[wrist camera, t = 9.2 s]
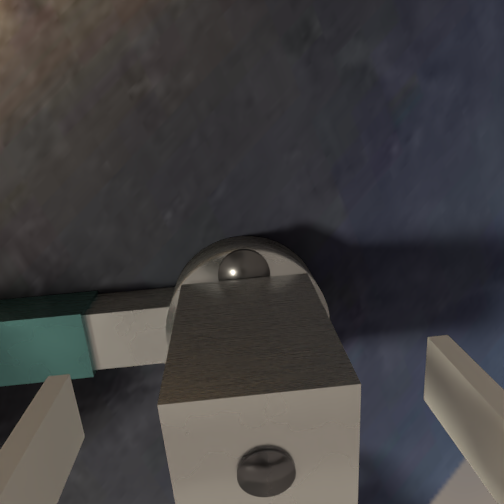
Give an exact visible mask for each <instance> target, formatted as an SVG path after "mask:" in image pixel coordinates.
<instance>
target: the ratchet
mask: <svg viewBox="0 0 504 504" xmlns="http://www.w3.org/2000/svg"><path fill="white" fill-rule="evenodd" d="M302 273H308V275H309V277H310V279H311V282H312V284H313V286H314V288H315V290H316V292H317V294H318V296H319V298H320V300H321V302H322V304H323V306H324V308H325V311H326V313H327V315H328V317H329V319H330V315H329V310H328V306H327V303H326V300H325V298H324V295H323V294H322V292H321V290H320V288H319V287H318V285H317V283H316V281H315V280H314V278H313V276H312V275H311V273H310V271H309V269H308V268H307V266H306V265H305V263H304V262H303V261H302V260H301V258H299V257H298V256H297V255H296V254H295V253H294V252H293V251H292V250H290V249H289V248H287V247H286V246H284V245H282V244H280V243H278V242H276V241H273V240H270V239H267V238H263V237H257V236H237V237H230V238H227V239H223V240H220V241H218V242H215V243H213V244H211V245H209V246H207V247H206V248H204V249H202V250H201V251H200V252H199V253H197V254H196V255H195V256H194V257H193V258H192V259H191V260H190V261H189V262H188V263H187V265H186V266H185V267H184V269H183V270H182V272H181V274H180V276H179V278H178V280H177V283H176V285H175V287H169V288H158V289H147V290H137V291H126V292H116V293H105V294H98V291H89V292H78V293H68V294H57V295H47V296H36V297H25V298H15V299H4V300H0V386H10V385H20V384H30V383H39V382H45V380H46V379H47V377H48V376H56V375H66V374H70V378H71V379H78V378H88V377H94V376H95V374H96V372H97V370H100V369H110V368H119V367H129V366H139V365H149V364H159V363H166V359H167V354H168V349H169V344H170V339H171V334H172V329H173V324H174V319H175V314H176V309H177V304H178V299H179V294H180V289H181V285H183V284H194V283H205V282H216V281H226V280H237V279H248V278H259V277H270V276H280V275H291V274H302Z"/></svg>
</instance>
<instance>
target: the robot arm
mask: <svg viewBox="0 0 504 504" xmlns="http://www.w3.org/2000/svg"><path fill="white" fill-rule="evenodd" d="M424 400H425V402H426V403H427V405H428V406H429V407H430V409H431V410H432V412H433V413H434V414H435V416H436V417H437V419H438V420H439V422H440V423H441V424H442V426H443V427H444V429H445V430H446V431H447V433H448V434H449V436H450V437H451V439H452V440H453V441H454V443H455V444H456V446H457V447H458V448H459V450H460V451H461V453H462V454H463V455H464V457H465V458H466V460H467V461H468V463H469V464H470V465H471V467H472V468H473V470H474V471H475V472H476V474H477V475H478V477H479V478H480V480H481V481H482V482H483V484H484V485H485V486H486V488H487V489H488V491H489V492H490V494H491V495H492V497H493V498H494V499H495V501H496V502H497V503H498V504H504V390H503V389H502V388H501V387H500V386H499V385H498V384H497V383H496V382H495V381H494V380H493V379H492V378H491V377H490V376H489V375H488V374H487V373H486V372H485V371H484V370H483V369H482V368H481V367H480V366H479V365H478V364H477V363H476V362H475V361H474V360H473V359H472V358H471V357H470V356H469V355H468V354H467V353H466V352H465V351H464V350H463V349H461V348H460V347H459V346H458V345H457V344H456V343H455V342H454V341H453V340H452V339H451V338H450V337H449V336H448V335H443V336H433V337H428V340H427V356H426V371H425V387H424ZM84 437H85V435H84V431H83V427H82V423H81V418H80V414H79V410H78V406H77V402H76V398H75V394H74V390H73V386H72V382H71V378H70V374H66V375H56V376H48V377H47V379H46V380H45V382H44V383H43V385H42V386H41V388H40V389H39V391H38V392H37V394H36V395H35V397H34V399H33V400H32V402H31V403H30V405H29V406H28V408H27V409H26V411H25V412H24V414H23V416H22V417H21V419H20V420H19V422H18V423H17V425H16V426H15V428H14V429H13V431H12V432H11V434H10V436H9V437H8V439H7V440H6V442H5V443H4V445H3V446H2V448H1V449H0V504H57V502H58V500H59V497H60V495H61V493H62V490H63V488H64V485H65V483H66V481H67V478H68V476H69V473H70V471H71V469H72V466H73V464H74V461H75V459H76V457H77V454H78V452H79V449H80V447H81V444H82V442H83V440H84Z"/></svg>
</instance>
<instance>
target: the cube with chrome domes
mask: <svg viewBox="0 0 504 504" xmlns="http://www.w3.org/2000/svg"><path fill="white" fill-rule="evenodd" d="M360 403H361V383H360V381H359V379H358V377H357V375H356V373H355V371H354V368H353V366H352V364H351V362H350V360H349V358H348V356H347V354H346V352H345V350H344V348H343V346H342V344H341V342H340V339H339V337H338V335H337V333H336V331H335V329H334V327H333V325H332V323H331V321H330V319H329V317H328V315H327V313H326V311H325V308H324V306H323V304H322V302H321V300H320V298H319V296H318V294H317V292H316V290H315V288H314V286H313V284H312V282H311V279H310V277H309V275H308V273H302V274H291V275H280V276H270V277H259V278H248V279H237V280H226V281H216V282H205V283H194V284H183V285H181V289H180V294H179V299H178V304H177V309H176V314H175V319H174V324H173V329H172V334H171V339H170V344H169V349H168V354H167V359H166V364H165V369H164V374H163V379H162V384H161V389H160V394H159V399H158V405H157V406H158V411H159V417H160V422H161V428H162V433H163V439H164V444H165V449H166V455H167V460H168V466H169V471H170V477H171V482H172V488H173V493H174V498H175V504H358V478H359V441H360Z"/></svg>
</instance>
